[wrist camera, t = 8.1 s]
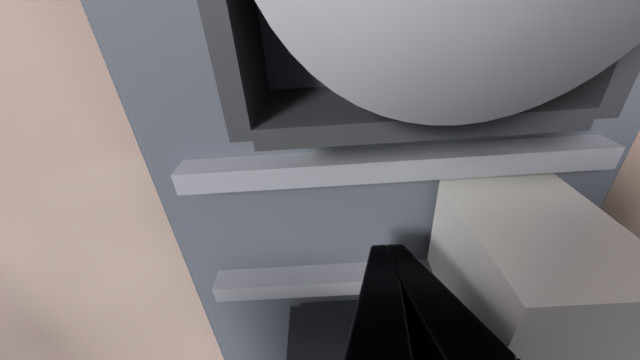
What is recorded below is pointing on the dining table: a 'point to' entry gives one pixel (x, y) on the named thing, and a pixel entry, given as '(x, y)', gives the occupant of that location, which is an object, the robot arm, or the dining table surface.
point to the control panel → (314, 165)
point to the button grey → (453, 51)
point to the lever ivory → (539, 266)
